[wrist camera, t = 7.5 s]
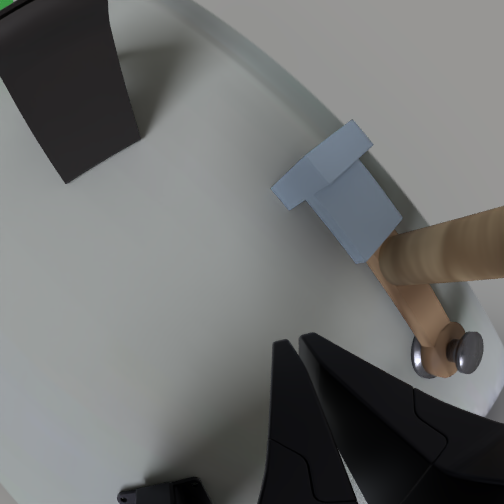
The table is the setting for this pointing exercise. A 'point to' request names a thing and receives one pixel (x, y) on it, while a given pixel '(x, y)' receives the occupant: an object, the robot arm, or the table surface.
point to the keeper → (342, 192)
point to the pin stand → (454, 354)
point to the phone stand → (67, 80)
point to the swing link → (438, 275)
